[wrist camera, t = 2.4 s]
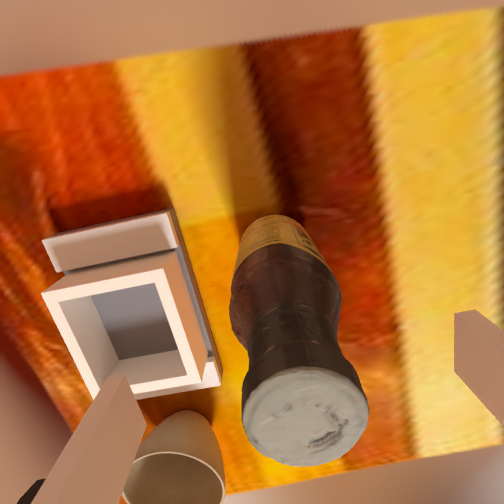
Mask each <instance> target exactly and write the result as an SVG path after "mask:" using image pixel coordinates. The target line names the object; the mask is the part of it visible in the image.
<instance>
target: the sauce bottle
mask: <svg viewBox="0 0 504 504" xmlns="http://www.w3.org/2000/svg"><path fill="white" fill-rule="evenodd" d="M341 301H342V297H341V291H340V287H339V284H338V282H337V280H336V278H335V276H334V275H333V273H332V271H331V270H330V268H329V266H328V265H327V264H326V262H325V260H324V259H323V257H322V256H321V254H320V252H319V251H318V249H317V248H316V246H315V245H314V243H313V241H312V240H311V238H310V237H309V235H308V234H307V232H306V230H305V229H304V228H303V227H302V226H301V225H300V224H299V223H298V222H297V221H295V220H294V219H292V218H290V217H287V216H283V215H277V214H268V215H265V216H263V217H260V218H259V219H257V220H255V221H254V222H253V223H252V224H250V225H249V226H248V227H247V228H246V230H245V231H244V234H243V235H242V238H241V241H240V245H239V250H238V255H237V259H236V264H235V269H234V274H233V279H232V285H231V299H230V305H229V314H230V321H231V325H232V330H233V332H234V334H235V336H236V337H237V339H238V340H239V342H240V343H241V344H242V345H243V346H244V348H245V349H246V350H247V351H248V356H249V370H248V372H247V374H246V376H245V378H244V381H243V385H242V423H243V427H244V429H245V432H246V434H247V437H248V439H249V441H250V443H251V444H252V445H253V446H254V447H255V448H256V449H257V450H258V451H259V452H260V453H261V454H263V455H264V456H266V457H269V458H272V459H274V460H276V461H277V462H280V463H282V464H285V465H290V466H317V465H320V464H324V463H328V462H330V461H332V460H335V459H338V458H340V457H341V456H342V455H344V454H345V453H346V452H347V451H349V450H350V449H351V448H352V447H353V446H354V445H355V444H356V442H357V441H358V440H359V439H360V437H361V435H362V433H363V432H364V430H365V428H366V427H367V420H368V417H369V407H368V402H367V398H366V396H365V393H364V391H363V389H362V387H361V383H360V380H359V377H358V375H357V373H356V371H355V369H354V367H353V365H352V364H351V363H350V362H349V361H348V360H346V359H345V357H344V356H343V355H342V352H341V349H340V347H339V345H338V341H337V331H338V324H339V317H340V310H341Z"/></svg>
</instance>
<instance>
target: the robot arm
mask: <svg viewBox="0 0 504 504" xmlns="http://www.w3.org/2000/svg"><path fill="white" fill-rule="evenodd" d="M454 372H455V373H456V374H457V375H458V376H459V377H460V378H461V379H462V381H463V382H464V383H465V384H466V385H467V386H468V387H469V388H470V389H471V391H472V392H473V393H474V394H475V395H476V396H477V397H478V398H479V400H480V401H481V402H482V403H483V404H484V405H485V406H486V407H487V409H488V410H489V411H490V412H491V413H492V414H493V415H494V416H495V417H496V419H497V420H498V421H499V422H500V423H501V424H502V425H503V426H504V331H503V330H502V329H501V328H499V327H498V326H497V325H495V324H494V323H492V322H491V321H490V320H488V319H487V318H486V317H484V316H483V315H482V314H480V313H479V312H478V311H476V310H471V311H465V312H460V313H455V314H454ZM146 426H147V424H146V421H145V419H144V417H143V415H142V412H141V410H140V408H139V406H138V403H137V401H136V399H135V396H134V394H133V392H132V390H131V387H130V385H129V383H128V380H127V378H126V376H125V375H120V376H115V377H110V378H107V379H106V381H105V382H104V384H103V386H102V387H101V389H100V391H99V392H98V394H97V395H96V397H95V399H94V400H93V402H92V404H91V405H90V407H89V409H88V410H87V412H86V414H85V415H84V417H83V419H82V420H81V422H80V424H79V425H78V427H77V428H76V430H75V432H74V433H73V435H72V437H71V438H70V440H69V442H68V443H67V445H66V447H65V449H64V450H63V452H62V453H61V455H60V457H59V458H58V460H57V462H56V463H55V465H54V467H53V468H52V470H51V471H50V473H49V475H48V476H47V478H46V479H41V480H37V481H36V482H35V483H34V484H33V485H32V486H31V487H30V488H29V490H28V491H27V492H26V493H25V494H24V495H23V496H22V497H21V498H20V499H19V501H18V502H17V504H118V503H119V500H120V497H121V494H122V492H123V489H124V486H125V483H126V481H127V478H128V475H129V472H130V470H131V467H132V464H133V462H134V459H135V456H136V453H137V451H138V448H139V445H140V442H141V440H142V437H143V434H144V431H145V429H146Z"/></svg>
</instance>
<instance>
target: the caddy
mask: <svg viewBox="0 0 504 504" xmlns="http://www.w3.org/2000/svg"><path fill="white" fill-rule="evenodd" d="M42 242H43V244H44V246H45V248H46V250H47V253H48V255H49V257H50V259H51V261H52V263H53V265H54V268H55V270H56V272H61V271H63V272H64V274H65V276H64V277H63V278H61V279H60V280H59V281H57V282H56V283H54V284H53V285H52V286H50V287H49V288H47V289H46V290H45V291H43V292H42V293H41V295H42V297H43V299H44V301H45V303H46V305H47V307H48V309H49V311H50V313H51V315H52V317H53V319H54V321H55V323H56V325H57V327H58V329H59V331H60V333H61V335H62V337H63V339H64V341H65V343H66V345H67V347H68V349H69V351H70V353H71V355H72V357H73V359H74V361H75V363H76V365H77V367H78V369H79V371H80V373H81V375H82V377H83V379H84V382H85V384H86V386H87V388H88V390H89V392H90V394H91V396H92V398H93V400H94V399H95V397H96V395H97V394H98V392H99V391H100V389H101V387H102V386H103V384H104V382H105V381H106V379H107V378H110V377H115V376H120V375H125V376H126V378H127V380H128V383H129V385H130V387H131V390H132V392H133V394H134V396H135V399H136V400H139V399H145V398H151V397H156V396H162V395H168V394H174V393H180V392H186V391H192V390H198V389H203V388H209V387H215V386H221V381H222V373H223V368H222V365H221V361H220V358H219V355H218V352H217V348H216V345H215V342H214V338H213V335H212V332H211V329H210V325H209V322H208V319H207V315H206V312H205V309H204V306H203V302H202V299H201V296H200V293H199V289H198V286H197V283H196V279H195V276H194V273H193V270H192V266H191V263H190V260H189V256H188V253H187V250H186V247H185V243H184V240H183V237H182V233H181V230H180V227H179V224H178V220H177V217H176V214H175V211H174V208H169V209H165V210H160V211H156V212H151V213H146V214H142V215H137V216H133V217H128V218H124V219H119V220H114V221H110V222H105V223H101V224H96V225H92V226H87V227H82V228H78V229H73V230H69V231H64V232H59V233H57V234H54V235H52V236H50V237H48V238H46V239H44V240H42Z"/></svg>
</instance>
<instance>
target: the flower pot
mask: <svg viewBox="0 0 504 504" xmlns="http://www.w3.org/2000/svg"><path fill="white" fill-rule="evenodd" d="M122 495H123V497H124V499H125V501H126V502H127V504H222V503H223V501H224V498H225V474H224V466H223V460H222V455H221V451H220V447H219V444H218V441H217V438H216V436H215V434H214V431H213V429H212V427H211V426H210V424H209V422H208V421H207V419H206V418H205V417H204V416H203V415H201V414H199V413H197V412H194V411H190V410H183V411H178V412H176V413H174V414H172V415H171V416H169V417H168V418H166V419H165V420H164V421H162V422H161V423H160V424H159V425H158V426H157V427H156V428H155V429H153V430H152V431H151V433H150V434H149V435H148V436H147V437H146V438H145V439H144V440H143V442H142V443H141V444H140V446H139V448H138V451H137V453H136V456H135V459H134V462H133V464H132V467H131V470H130V472H129V475H128V478H127V481H126V483H125V486H124V489H123V492H122Z"/></svg>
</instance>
